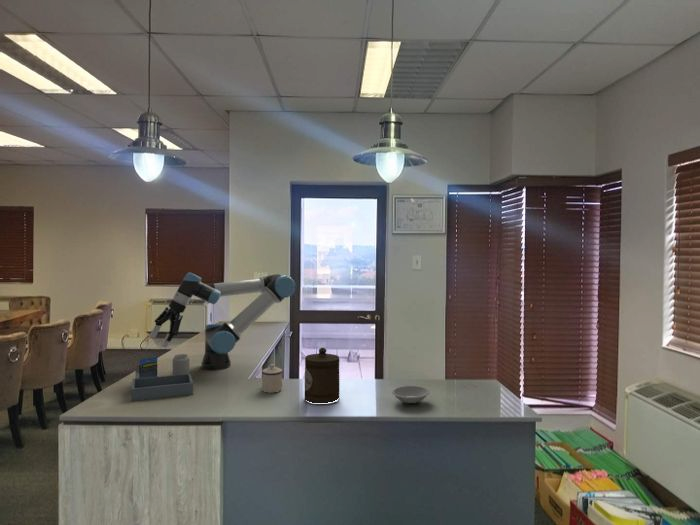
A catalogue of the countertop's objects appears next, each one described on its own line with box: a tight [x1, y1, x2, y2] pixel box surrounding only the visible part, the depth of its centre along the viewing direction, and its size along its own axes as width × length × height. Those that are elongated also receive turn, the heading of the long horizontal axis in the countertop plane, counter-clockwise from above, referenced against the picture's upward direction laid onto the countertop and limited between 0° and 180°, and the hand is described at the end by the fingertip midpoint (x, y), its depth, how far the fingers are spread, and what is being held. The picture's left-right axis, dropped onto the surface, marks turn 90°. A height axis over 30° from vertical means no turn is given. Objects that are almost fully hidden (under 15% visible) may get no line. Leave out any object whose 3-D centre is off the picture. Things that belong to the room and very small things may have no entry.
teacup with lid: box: [261, 363, 283, 393], centre depth 197 cm, size 12×9×12 cm
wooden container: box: [304, 347, 340, 403], centre depth 185 cm, size 15×15×22 cm
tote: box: [130, 373, 194, 402], centre depth 190 cm, size 24×16×5 cm, turn 115°
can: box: [172, 353, 190, 375], centre depth 209 cm, size 8×8×12 cm
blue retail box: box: [134, 355, 158, 379], centre depth 203 cm, size 9×4×12 cm, turn 145°
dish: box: [391, 385, 431, 404], centre depth 182 cm, size 18×14×5 cm
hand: (157, 342), depth 209 cm, fingers open, 13 cm apart
